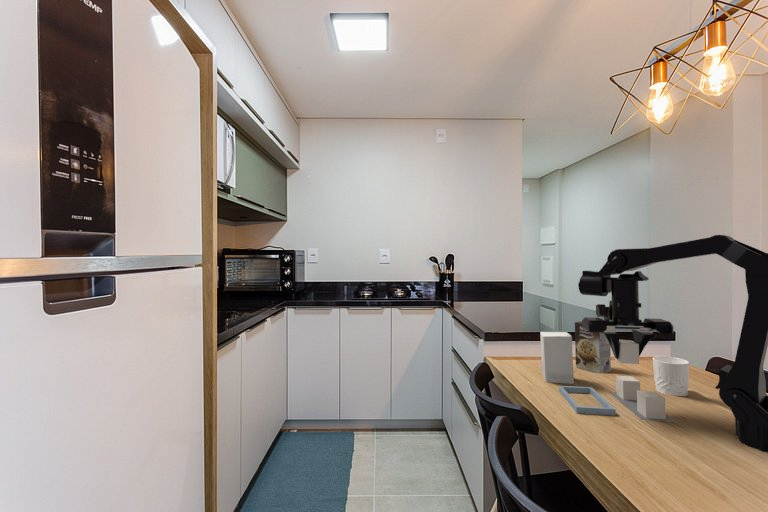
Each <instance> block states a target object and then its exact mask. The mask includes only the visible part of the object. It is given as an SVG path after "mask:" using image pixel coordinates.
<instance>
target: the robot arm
mask: <svg viewBox="0 0 768 512" xmlns="http://www.w3.org/2000/svg"><path fill="white" fill-rule="evenodd" d="M708 255H709V256H710V255H718V256H720V257H722V258H724V259H725V260H727V261H729V262H730V263H732V264H734V265H735V266H738V267H740V268H742V269H743V270H744V274H745V284H746V291H747V302H746V307H745V312H744V317H743V322H742V326H741V330H740V336H739V340H738V345H737V348H736V355H735V358H734V363H733V365H729V364H727V365H725V366H723V367H722V368H720V369H719V372H718V377H719V378H718V383H717V385H716V386H715V387H714V388H715V390H719V391H718V395H719V399H720V400H721V401H722V402H723V403H724V404H725V405H726V406H727V407H728V408H729V409H730V411H731V412H732V415H733V417H734V419H735V423H734V424H735V425H734V426H735V435H736V437H737V440H738V442H740V443H741V444H743V445H744V446H747V447H750V448H752V449H755V450H758V451H760V452H762V453H768V394H767V385H766V384H767V383H766V376H765V370H764V364H765V359H766V356H767V351H768V252H765V251H763V250H760V249H759V248H756V247H753V246H752V245H748V244H746V243H743V242H741V241H739V240H737V239H734V238H733V237H731V236H730V235H725V234H715V235H711V236H710V237H705V238H704V237H703V238H699V239H694V240H688V241H682V242H676V243H672V244H671V243H670V244H666V245H661V246H654V247H648V248H647V247H646V248H642V247H641V248H617V249H614V250H612V251H610V253H609V254H608V255H607V261H606V262H605V264H603V266H602V267H601V268H600V270H599V271H594V270H582V273H581V274H582V275H581V277H580V278H579V282H578V291H579V292H580V294H581V295H583V296H596V297H607V296H608V294H610V293H611V299H610V300H609V301H608V303H609V306H606V304H604V303H603V304H599V303H598V304H595V315H596V317H590V316H589V317H584V318H582V320H581V321H582V327H583V328H584V329H586V330H588V331H591V332H600V333H602V334H604V335H605V337H606V338H607V340H608V342H609V344H610V350H611V351H612V354H613V357H614V356H615V358H616V359H618V358H619V340H620V333H618V332H617V331H616V329H619V330H620V329H623V330H631V331H632V335H633V341H634V342H636V343H638V344H639V357H640V356H641V355H642V353H643V351H644V349H645V347H646V346H647V344H648V343H649V342H650V341H651V339H652V338H656V337H657V334H656V333H658V334H667V335H672V334H673V335H674V333H675V332H674V325H673V324H672V322H670V321H669V320H665V319H662V318H646V317H645V318H644V320H642V319H640V308H642V303H641V302H640V301H639V298H640V297H639V294H640V293H639V282H645V281H649V277H647V276H646V275H644V273H642V271H640V270H639V269H642V268H645V267H649V266H651V265H655V264H658V263H662V262H663V263H664V262H670V261H677V260H684V259H690V258H695V257H703V256H708ZM631 271H635V272H634V273H624V272H631ZM614 275H618V276H617V277H616V276H615V277H613V276H614ZM611 276H612V277H611ZM600 317H601V318H600ZM654 330H655V331H656V333H654V332H653V331H654Z"/></svg>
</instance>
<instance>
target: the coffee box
mask: <svg viewBox="0 0 768 512" xmlns="http://www.w3.org/2000/svg"><path fill="white" fill-rule="evenodd" d="M574 341H575V342H574V346H575V347H574V348H575V353H574V354H575V367H576V368H578V369H580V370H581V369H582V370H585V371H587V372H591V373H594V374H607V373H610V372H612V367H611V366H612V363H611V362H612V361H611V360H612V359H611V358H612V356H611V347H610V344H609V342H608V340H607V338H606V337H605V335H604V334H602V333H600V332H591V331H588V330H586V329H584V328H583V327H582V320H581V321H575V322H574Z"/></svg>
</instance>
